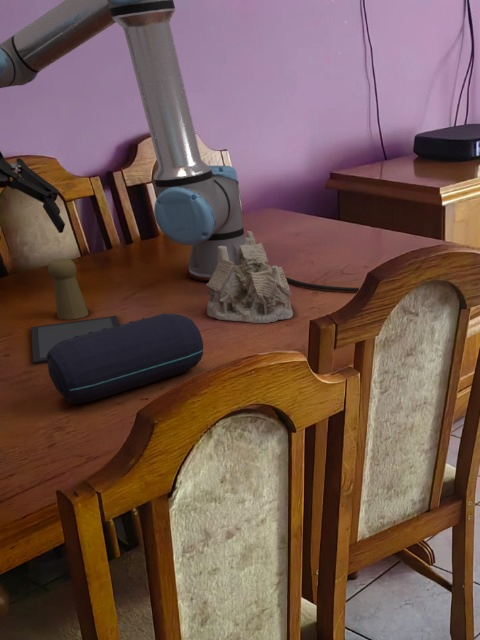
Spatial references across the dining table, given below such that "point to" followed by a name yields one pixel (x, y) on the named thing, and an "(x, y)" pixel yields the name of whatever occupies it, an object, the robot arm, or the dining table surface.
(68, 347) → the portable speaker
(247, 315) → the ceramic cottage
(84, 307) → the cork
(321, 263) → the dining table surface
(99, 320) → the tablet computer
